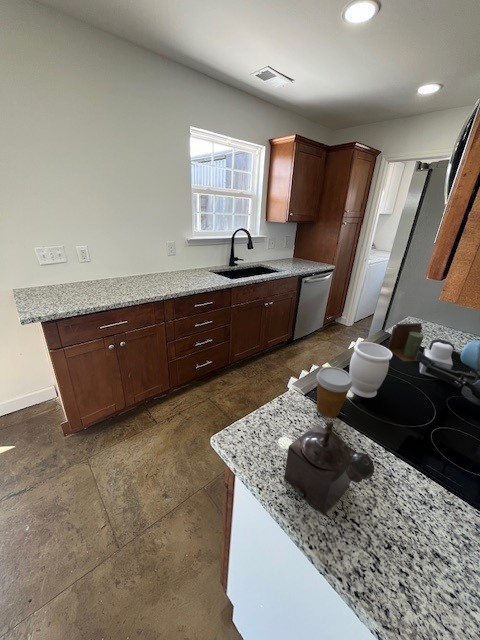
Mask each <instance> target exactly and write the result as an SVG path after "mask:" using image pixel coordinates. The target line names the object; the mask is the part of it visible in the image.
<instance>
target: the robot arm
mask: <svg viewBox="0 0 480 640" xmlns="http://www.w3.org/2000/svg"><path fill="white" fill-rule="evenodd" d="M422 353H423V352H422V351H420V352H418V355H417V358H416V359H417V360H418V361H417V362H419V363H420V362H421V363H422V364H423V365H424V366H426V367H427V368H426V370H425V372H426V373H428V374H430V375H433V376H435V377H437V378H436V379H439V380H441V381H444V382H445V383H448V384H450V385H451V386H453V387H455V388H456V389H461V388H462V387H463V386H464V387H466V388H468V389H469V390H470V392H471V394H472V395H473V397H474V398H475V399H477V400H478V401H480V340H477V339H473V340H470V341H469V342H467V344H465V346H464V347H463V349H462V351H461V353H460V352H458V351H457V350H454V351H453V353H452V355H451V359H452V360H454V361H456V362H457V363H458V364H460V365H461V366H463V367H464V368H466V369H469V370H470V371H469V372H464V371H461V370H454V369H452V368H451V369H448V368H445V367H442V366H439V365H436V364H435V362H434V361H432V360H431V359H429V358H428V357H426V356H425V355H424V354H422ZM435 377H434V378H435Z"/></svg>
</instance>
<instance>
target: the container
mask: <svg viewBox="0 0 480 640" xmlns="http://www.w3.org/2000/svg"><path fill="white" fill-rule="evenodd" d="M455 347H456V346H455V345H454V344H453V343H451V342H450V341H447V340H444V339H433V340H431V342H430V344H429V347H428V348H424V350H423V352H422V353H423V354H424V355H425V356H426V357H428V358H429V359H431V360H432V361H434V362H435V364H436V365H439V366H442V367H445V368H448V369H451V370H452V368H453V365H454V363H453V359H452V358H451V355H452V353H453V351H455ZM426 368H427V367H426V366H424V365H423V364H422V363H421V362H419V373H420V374H422V375H425V376H428V377H432V378H436V379H438V378H437V377H435V376H433V375H430V374H428V373H426V372H425V370H426Z"/></svg>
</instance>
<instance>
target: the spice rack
mask: <svg viewBox="0 0 480 640" xmlns="http://www.w3.org/2000/svg"><path fill="white" fill-rule="evenodd" d="M422 330H423V326H422V323H420V322H413V323H410V322H409V323H396V324H395V326H393V327H392V331H391V334H390V338H389V341H388V344H387V347H386V348H387V349H389V350H390V351H391V352H392V354H394V355H395V356H396V357H398V358H399V359H400V360H401V361H402V362H419V361H418V360H417V359H416V358H417V357H415V358H412V357H408V356H406V355H404V354H403V351H404V348H405V345H406V342H407V339H408V336H409V333H410V332H418V333H421V334H422ZM419 352H421V350H419ZM421 353H422V354H423V352H421ZM417 355H418V354H417Z"/></svg>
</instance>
